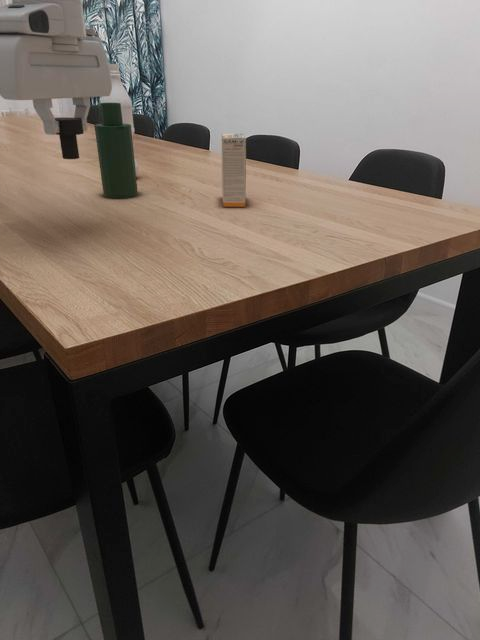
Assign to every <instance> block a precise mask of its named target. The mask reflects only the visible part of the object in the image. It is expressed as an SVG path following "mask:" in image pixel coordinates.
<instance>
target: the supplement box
mask: <svg viewBox="0 0 480 640" xmlns="http://www.w3.org/2000/svg"><path fill="white" fill-rule="evenodd" d="M221 187H222V189H221V191H222V194H221V195H222V206H223V207H225V208H226V207H227V208H235V207H236V208H240V207H242V208H245V207H246V202H247V201H246V200H247V199H246V198H247V197H246V193H247V192H246V189H247V139H246V135H245V134H244V133H221Z"/></svg>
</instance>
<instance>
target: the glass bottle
mask: <svg viewBox="0 0 480 640" xmlns="http://www.w3.org/2000/svg"><path fill="white" fill-rule="evenodd" d="M99 110H100V117H101V118H100V119H101V123H96V124H94V133H95V141H96V148H97V156H98V163H99V170H100V178H101V185H102V192H103V197H105V198H108V199H118V200H119V199H130V198H134V197H137V196H138V195H139V193H138V192H139V191H138V182H137V181H138V180H137V177H136V170H135V160H134V157H135V152H134V143H133V141H134V140H133V141H132V131H131V125H130V124H123V121H122V111H121V103H101V102H100V103H99Z"/></svg>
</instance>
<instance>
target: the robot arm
mask: <svg viewBox="0 0 480 640" xmlns="http://www.w3.org/2000/svg"><path fill="white" fill-rule="evenodd" d="M105 49H106V48H105V47H104V44H103V41H102V37H100V36H99V34H98V32H96V30H95V29H94V28H93V27H89V26H87V27H86V22H85V14H84V6H83V0H11V3H8V4H5V5H3V6H1V7H0V96H1V97H2V98H3V99H4V100H8V101H10V100H11V101H32V105H33V109H34V110H35V112H36V114H37V115H38V117H39V118H40V120H41V121H42V124H43V125H42V126H43V132H44V133H45V134H46V135H50V136H52V135H53V136H54V135H55V134H60V133H61V128H60V121H56V120H55V118H56V117H55V116H54V114H53V112H52V110H51V109H52V108H53V101H52V100H55V99H72V105H73V106H75V109H74V115H73V118H81V119H82V124H83V132H84V131H85V132H86V131H87V130H88V127H89V126H88V119H87V118H88V116H89V112H90V108H91V100H90V98H100V97H103V96H110V94H111V90H112V82H111V76H110V70H109V64H110V63H109V60H108V56H107V52H106V50H105Z"/></svg>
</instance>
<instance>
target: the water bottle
mask: <svg viewBox="0 0 480 640" xmlns="http://www.w3.org/2000/svg"><path fill="white" fill-rule="evenodd" d="M108 64H109V70H110V76H111V82H112V90H111V94H110V96H103V97H101V98H100V103H121V111H122V121H123V124H130V125H131V131H132V141H134V135H135V125H134V115H133V104H132V100H131V97H130V95H129V94H128V91H127V90H126V88H125V86H124V85H123V82H122V79H121V77H122V74H121V72H120V65H119V63H108ZM134 160H135V170H136V178H137V176H138V174H139V164H138V162H137V160H136V157H135V156H134Z"/></svg>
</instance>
